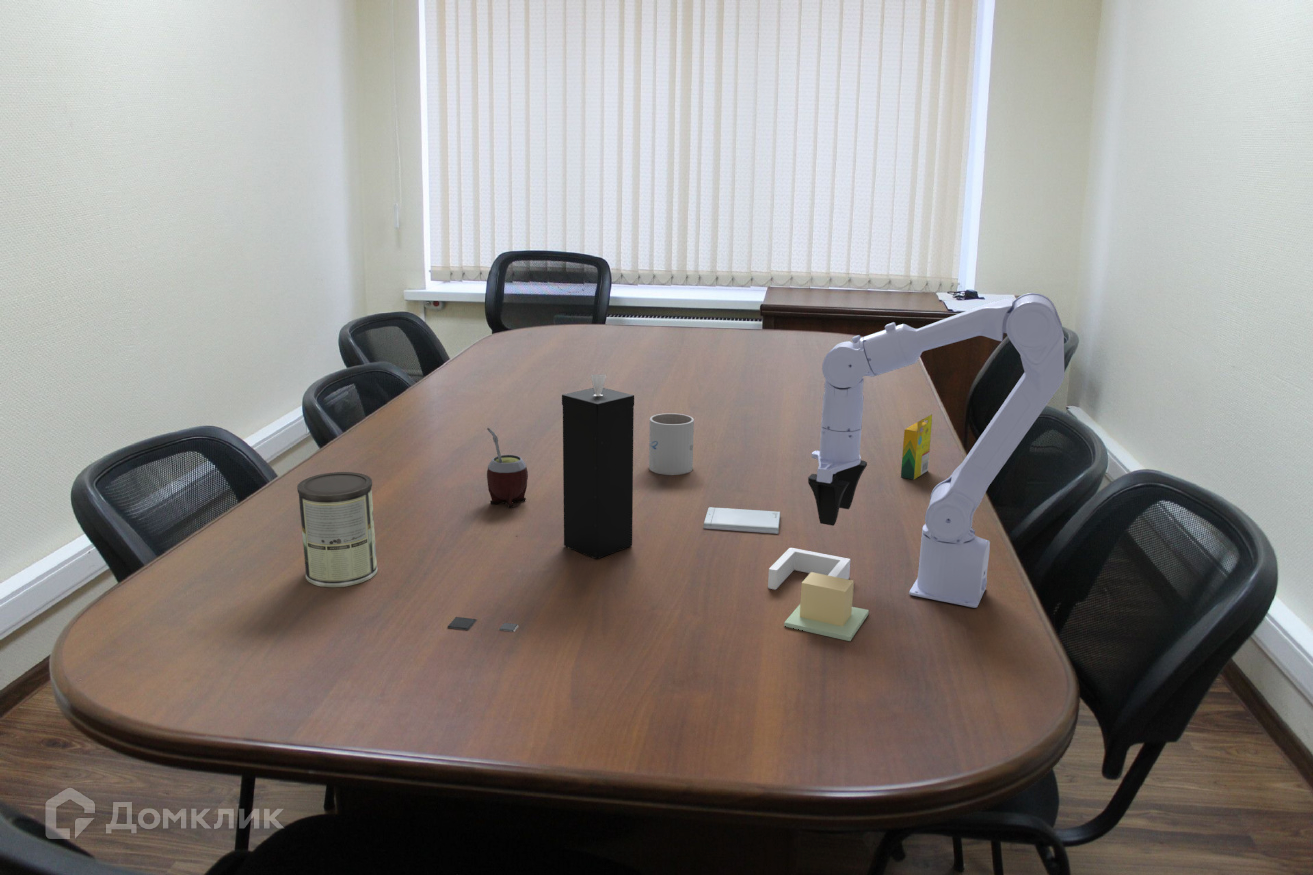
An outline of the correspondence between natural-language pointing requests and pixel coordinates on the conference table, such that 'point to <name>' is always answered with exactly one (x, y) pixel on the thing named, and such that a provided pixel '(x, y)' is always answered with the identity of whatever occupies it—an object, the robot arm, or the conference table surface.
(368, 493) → the coffee can
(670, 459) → the mug
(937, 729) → the conference table surface
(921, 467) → the crayon box
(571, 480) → the tall black box
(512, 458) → the mate gourd
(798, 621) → the mat
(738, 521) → the hard drive
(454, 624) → the black square blocks
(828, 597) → the block
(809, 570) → the frame
